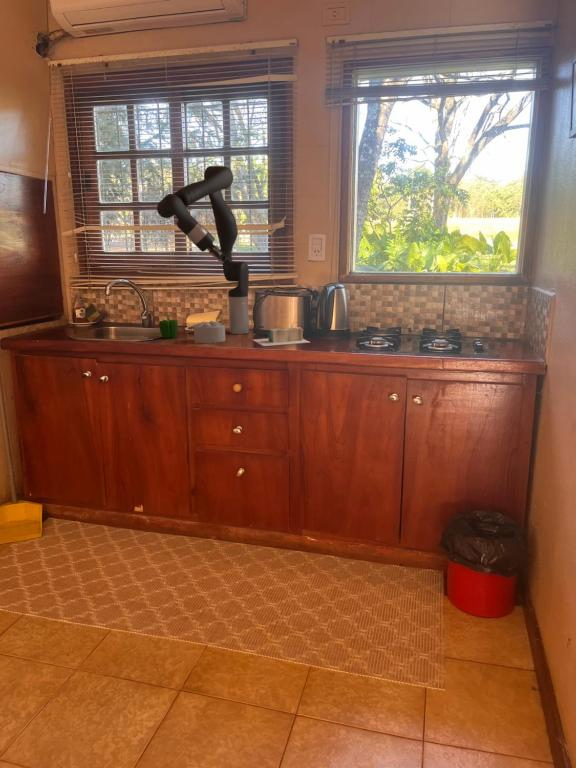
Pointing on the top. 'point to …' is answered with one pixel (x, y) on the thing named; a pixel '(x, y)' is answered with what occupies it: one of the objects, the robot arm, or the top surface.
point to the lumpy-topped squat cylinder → (209, 332)
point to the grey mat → (268, 343)
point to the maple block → (285, 334)
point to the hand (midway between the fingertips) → (231, 267)
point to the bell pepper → (168, 328)
